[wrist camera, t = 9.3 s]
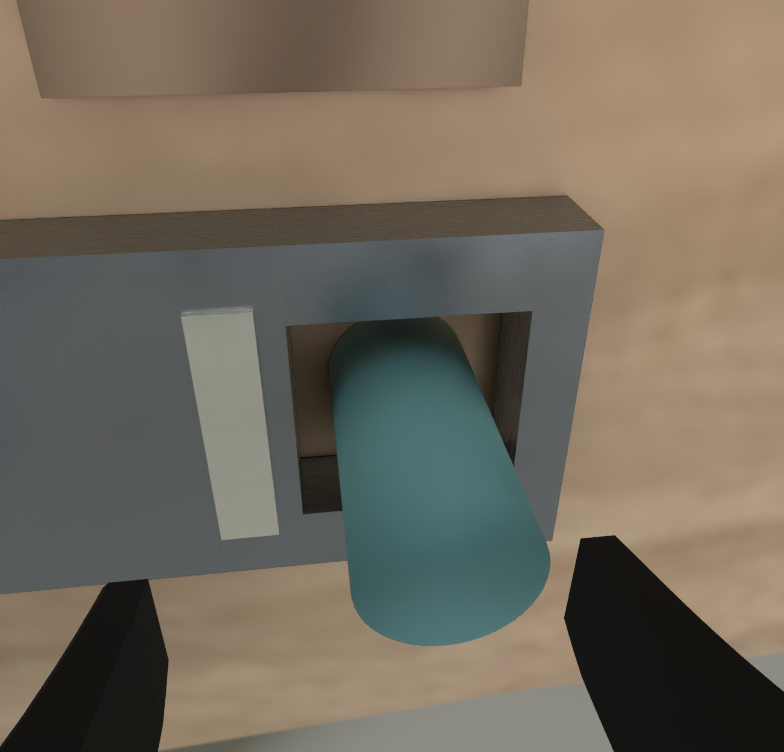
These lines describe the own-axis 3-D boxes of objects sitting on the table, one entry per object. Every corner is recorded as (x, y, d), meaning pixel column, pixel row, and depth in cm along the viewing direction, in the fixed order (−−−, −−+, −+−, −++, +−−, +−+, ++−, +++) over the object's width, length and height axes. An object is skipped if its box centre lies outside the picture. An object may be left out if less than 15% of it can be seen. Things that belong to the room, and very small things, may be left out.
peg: (332, 429, 21) (354, 655, 15) (325, 312, 19) (346, 514, 13) (460, 419, 22) (538, 634, 15) (467, 303, 20) (561, 494, 13)
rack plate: (-1, 533, 22) (-34, 603, 20) (-128, 225, 17) (-194, 272, 14) (528, 486, 24) (554, 545, 21) (567, 196, 18) (607, 233, 16)
